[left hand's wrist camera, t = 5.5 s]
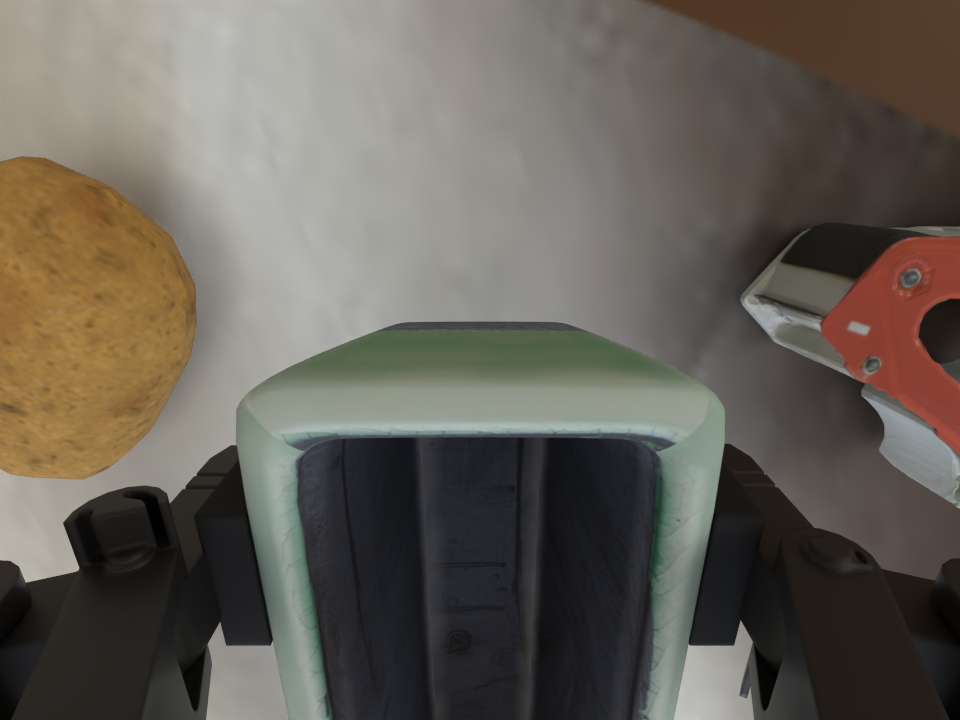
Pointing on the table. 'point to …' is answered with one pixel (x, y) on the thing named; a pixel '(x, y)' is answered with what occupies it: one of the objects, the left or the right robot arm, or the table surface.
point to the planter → (480, 523)
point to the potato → (83, 321)
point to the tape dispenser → (875, 330)
